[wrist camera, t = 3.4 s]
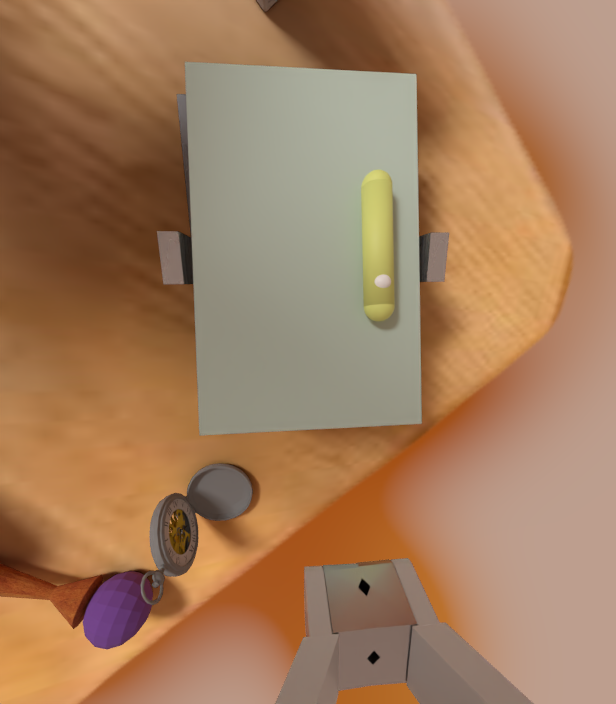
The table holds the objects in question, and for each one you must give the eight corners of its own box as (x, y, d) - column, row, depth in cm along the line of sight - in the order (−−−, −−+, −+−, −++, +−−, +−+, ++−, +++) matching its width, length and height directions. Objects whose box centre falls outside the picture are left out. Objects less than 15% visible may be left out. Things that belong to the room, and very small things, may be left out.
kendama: (-82, 564, 26) (141, 613, 27) (-12, 522, 31) (168, 564, 33) (-100, 627, 26) (124, 673, 27) (-27, 574, 32) (153, 613, 33)
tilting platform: (193, 86, 18) (171, 24, 15) (405, 96, 19) (432, 40, 16) (206, 427, 19) (188, 446, 15) (411, 417, 20) (437, 433, 17)
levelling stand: (183, 106, 22) (126, 3, 14) (406, 115, 24) (471, 27, 16) (211, 393, 28) (181, 439, 20) (389, 386, 30) (430, 426, 21)
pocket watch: (265, 480, 31) (257, 570, 21) (221, 534, 32) (194, 643, 22) (199, 441, 29) (158, 520, 19) (155, 500, 30) (95, 602, 21)
